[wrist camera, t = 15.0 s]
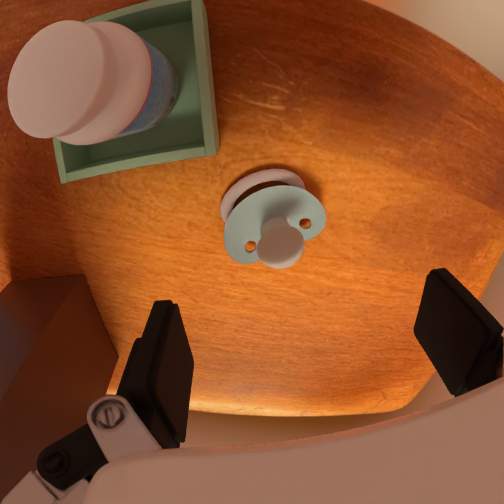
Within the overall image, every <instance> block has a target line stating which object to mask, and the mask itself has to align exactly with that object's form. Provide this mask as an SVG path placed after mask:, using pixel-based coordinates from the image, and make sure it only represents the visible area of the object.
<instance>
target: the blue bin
mask: <svg viewBox="0 0 504 504" xmlns="http://www.w3.org/2000/svg"><path fill="white" fill-rule="evenodd" d="M118 358H119V357H118V355H117V353H116V351H115V349H114V346H113V344H112V342H111V340H110V338H109V335H108V333H107V331H106V329H105V326H104V324H103V322H102V319H101V317H100V315H99V312H98V310H97V307H96V305H95V302H94V300H93V297H92V295H91V292H90V289H89V287H88V284H87V281H86V278H85V276H84V274H82V275H72V276H61V277H50V278H40V279H29V280H18V281H11V282H10V283H9V284H8V285H7V286H6V287H5V288H4V289H3V290H2V291H1V292H0V503H1V502H2V500H3V499H4V498H5V497H6V496H7V495H8V494H9V493H10V492H11V490H12V489H13V488H14V487H15V486H16V485H17V484H18V483H19V482H20V481H21V480H22V479H23V478H24V477H25V476H26V475H27V474H28V473H29V472H30V471H32V472H35V471H36V470H37V459H38V456H39V454H40V453H41V451H42V450H43V449H45V448H46V447H47V446H49V445H51V444H53V443H54V442H56V441H58V440H60V439H61V438H63V437H65V436H66V435H68V434H70V433H72V432H73V431H75V430H77V429H78V428H80V427H82V426H83V425H85V424H87V423H88V421H87V412H88V409H89V407H90V406H91V405H92V403H93V402H94V401H96V400H97V399H98V398H100V397H103V396H105V395H106V392H107V389H108V386H109V383H110V380H111V377H112V374H113V372H114V369H115V366H116V363H117V361H118Z"/></svg>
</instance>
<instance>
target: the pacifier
mask: <svg viewBox="0 0 504 504" xmlns="http://www.w3.org/2000/svg"><path fill="white" fill-rule="evenodd" d="M268 181H282V182H285V183H288V184H289V185H278V186H272V187H267V188H264V189H261V190H259V191H257V192H255V193H253V194H251V195H249V196H248V197H246V198H245V199H244V200H242V201H241V202H240V203H239V204H238V205H237V206H236V207H235V208H234V209H233V205H234V203H235V201H236V200H237V198H238V197H239V196H240V195H241V194H242V193H243V192H245V191H246V190H247V189H249V188H251V187H253V186H254V185H257V184H260V183H263V182H268ZM290 185H291V186H290ZM232 209H233V210H232ZM220 213H221V217H222V219H223V221H224V222H225V223H226V224H225V229H224V244H225V248H226V250H227V252H228V254H229V256H230V257H231V258H232V259H233V260H235V261H236V262H239V263H243V264H249V263H254V262H257V261H259V260H261V261H262V262H263V263H264V264H266V265H267V266H269V267H272V268H276V269H283V268H287V267H290V266H292V265H293V264H295V263H296V262H297V261H298V260H299V259H300V257H301V255H302V253H303V250H304V241H306V240H309V239H312V238H314V237H315V236H317V235H318V234H319V233H320V232H321V231H322V230H323V228H324V226H325V224H326V213H325V210H324V208H323V206H322V204H321V203H320V202H319V201H318V199H317V198H316V197H314V196H313V195H312V194H311V193H309V192H308V191H306V190H305V186H304V182H303V181H302V179H301V178H300V177H299V176H298V175H297V174H295V173H294V172H291V171H288V170H285V169H274V168H273V169H266V170H261V171H258V172H255V173H252V174H249V175H248V176H246V177H244V178H242V179H240V180H239V181H238V182H237V183H235V184H234V185H233V186H232V187H231V188H230V189H229V190H228V191H227V193H226V194H225V195H224V198H223V200H222V202H221V206H220ZM303 218H307V219H309V220H310V221H311V224H310V226H309V227H307V228H303V227H301V226H300V225H299V222H300V220H301V219H303ZM249 241H254V242H255V243H256V247H255V249H254V250H253V251H247V250H246V249H245V245H246V243H247V242H249Z"/></svg>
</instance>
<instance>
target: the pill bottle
mask: <svg viewBox="0 0 504 504" xmlns="http://www.w3.org/2000/svg"><path fill="white" fill-rule="evenodd" d="M179 91H180V80H179V76H178V73H177V70H176V68H175V67H174V65H173V63H172V62H171V61H170V60H169V58H168V57H166V56H165V55H164V54H163V53H162V52H160V51H159V50H158V49H156V48H155V47H154V46H152V45H151V44H150V43H148V42H147V41H146V40H144V39H143V38H141V37H140V36H139V35H137V34H136V33H134V32H133V31H132V30H130V29H129V28H127V27H125V26H123V25H120V24H117V23H113V22H106V21H100V22H92V23H87V24H85V23H83V22H79V21H74V20H66V21H60V22H56V23H53V24H51V25H49V26H47V27H45V28H43V29H42V30H40V31H39V32H38V33H37V34H35V35H34V36H33V37H32V38H31V39H30V40H29V41H28V42H27V43H26V45H25V46H24V47H23V49H22V50H21V51H20V53H19V55H18V57H17V59H16V61H15V63H14V65H13V67H12V70H11V73H10V77H9V83H8V104H9V109H10V112H11V115H12V117H13V119H14V121H15V123H16V124H17V126H18V127H19V128H20V129H21V130H22V131H23V132H25V133H26V134H28V135H30V136H33V137H36V138H53V137H55V138H57V139H59V140H61V141H63V142H65V143H69V144H73V145H90V144H95V143H100V142H103V141H107V140H110V139H114V138H118V137H122V136H126V135H130V134H134V133H138V132H142V131H145V130H148V129H151V128H153V127H155V126H156V125H158V124H160V123H161V122H162V121H163V120H164V119H165V118H166V117H167V116H168V115H169V114H170V113H171V111H172V110H173V108H174V106H175V104H176V102H177V100H178V96H179Z"/></svg>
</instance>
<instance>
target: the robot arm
mask: <svg viewBox="0 0 504 504" xmlns="http://www.w3.org/2000/svg"><path fill="white" fill-rule="evenodd" d="M503 329H504V328H503V327H502V326H501V325H500V324H499V322H498V321H497V320H496V319H495V318H494V317H493V316H492V315H491V314H490V313H489V312H488V311H487V309H486V308H485V307H484V306H483V305H482V304H481V303H480V302H479V301H478V300H477V299H476V298H475V297H474V296H473V295H472V294H471V293H470V292H469V291H468V290H467V289H466V288H465V287H464V286H463V285H462V284H461V283H460V282H459V281H458V280H457V279H456V278H455V277H454V276H453V275H452V274H451V273H450V272H449V271H448V270H447V269H445V268H439V269H433V270H431V271H430V273H429V274H428V275H427V277H426V282H425V286H424V291H423V295H422V299H421V303H420V307H419V311H418V315H417V318H416V322H415V326H414V335H415V337H416V338H417V340H418V341H419V343H420V345H421V346H422V348H423V349H424V351H425V352H426V354H427V356H428V357H429V359H430V360H431V362H432V364H433V365H434V367H435V369H436V370H437V372H438V373H439V375H440V377H441V378H442V380H443V382H444V383H445V385H446V387H447V389H448V390H449V392H450V393H451V394H452V395H454V396H455V398H453V399H450V400H448V401H445V402H442V403H440V404H437V405H434V406H431V407H429V408H425V409H423V410H419V411H416V412H413V413H410V414H407V415H404V416H401V417H397V418H394V419H390V420H387V421H383V422H379V423H376V424H372V425H368V426H364V427H360V428H355V429H351V430H347V431H341V432H336V433H331V434H326V435H321V436H315V437H309V438H302V439H296V440H289V441H281V442H271V443H262V444H250V445H237V446H220V447H196V448H179V447H180V442H185V437H186V428H187V419H188V410H189V401H190V393H191V385H192V377H193V369H194V360H193V356H192V353H191V349H190V346H189V342H188V339H187V336H186V332H185V329H184V325H183V322H182V318H181V314H180V311H179V307H178V305H177V304H173V302H172V301H171V300H161V301H155V302H154V304H153V307H152V310H151V313H150V315H149V318H148V321H147V324H146V326H145V329H144V332H143V335H142V338H137V339H136V340H135V342H134V344H133V347H132V350H131V352H130V355H129V358H128V361H127V364H126V367H125V370H124V372H123V375H122V378H121V381H120V384H119V387H118V391H117V394H116V395H105V396H103V397H100V398H98V399H97V400H96V401H94V402H93V403H92V405H91V406H90V407H89V409H88V412H87V421H88V423H87V424H85V425H83V426H82V427H80V428H78V429H77V430H75V431H73V432H72V433H70V434H68V435H66V436H65V437H63V438H61V439H60V440H58V441H56V442H54V443H53V444H51V445H49V446H47V447H46V448H45V449H43V450H42V451H41V453H40V454H39V456H38V459H37V470H36V471H35V472H32V471H30V472H29V473H28V474H27V475H26V476H25V477H24V478H23V479H22V480H21V481H20V482H19V483H18V484H17V485H16V486H15V487H14V488H13V489H12V490H11V492H10V493H9V494H8V495H7V496H6V497H5V498H4V499H3V500H2V502H1V503H0V504H504V338H503V337H502V335H501V333H502V332H503Z"/></svg>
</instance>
